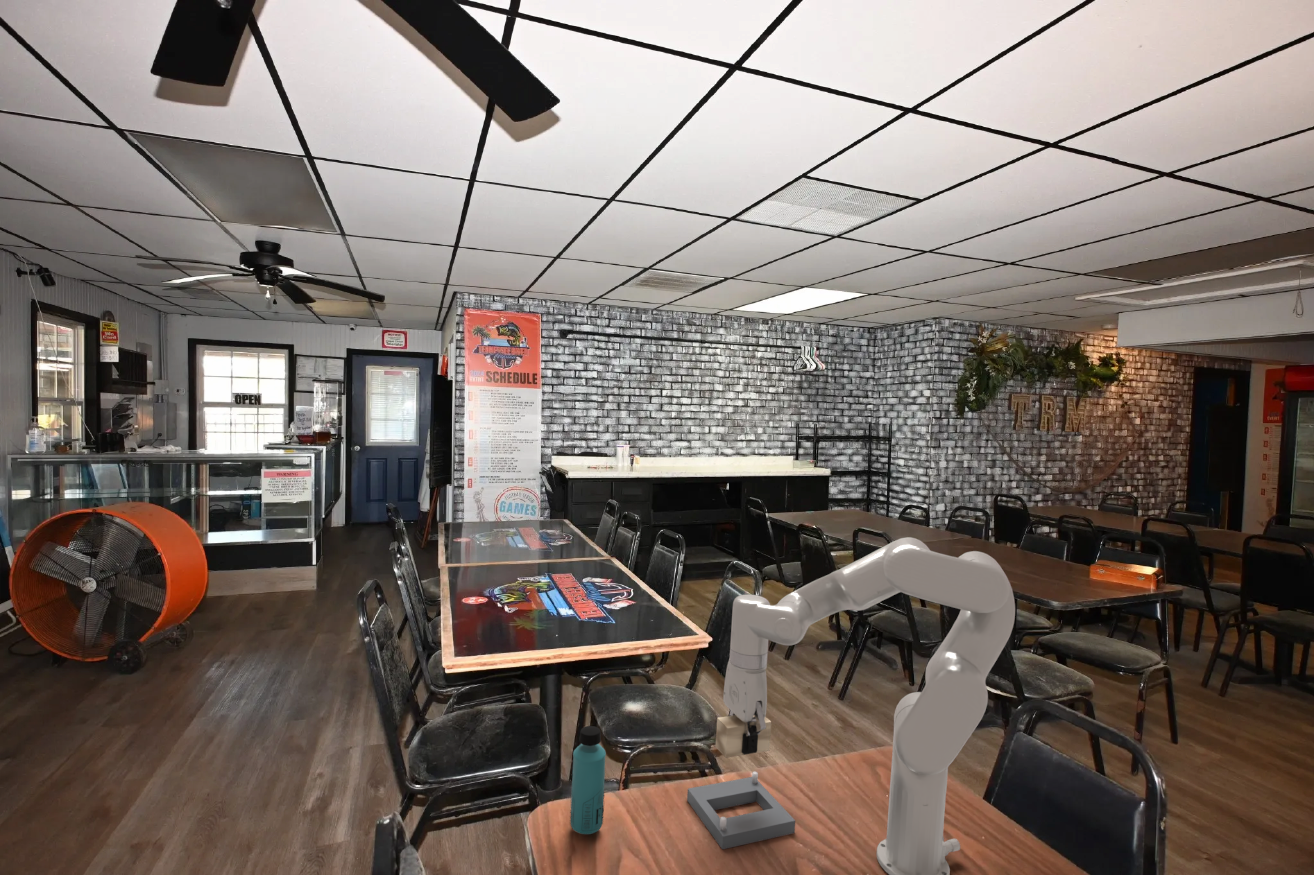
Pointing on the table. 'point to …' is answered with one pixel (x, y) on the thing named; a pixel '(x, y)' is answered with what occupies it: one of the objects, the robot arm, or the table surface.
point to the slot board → (742, 826)
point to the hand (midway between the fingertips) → (742, 745)
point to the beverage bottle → (588, 782)
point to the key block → (738, 736)
